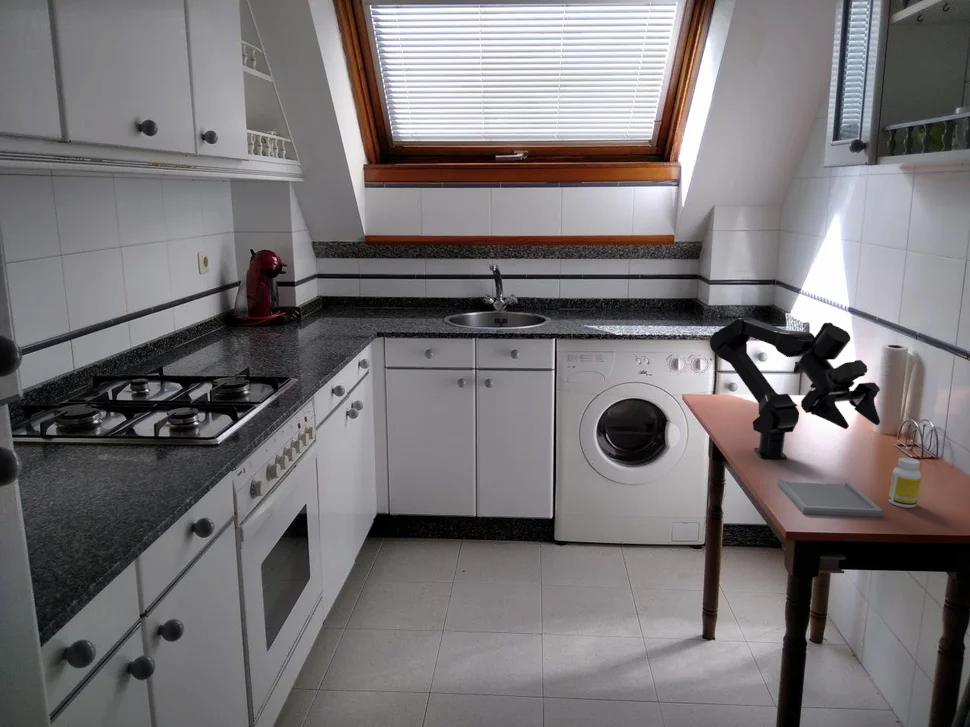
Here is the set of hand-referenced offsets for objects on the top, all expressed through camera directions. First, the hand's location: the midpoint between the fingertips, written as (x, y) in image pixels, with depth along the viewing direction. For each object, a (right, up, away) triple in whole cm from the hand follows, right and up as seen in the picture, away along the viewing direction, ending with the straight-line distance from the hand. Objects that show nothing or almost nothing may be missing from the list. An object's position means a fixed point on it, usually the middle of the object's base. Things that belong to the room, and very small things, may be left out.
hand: (863, 425), depth 173 cm
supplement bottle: (+7, -17, -2) cm, 18 cm away
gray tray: (-9, -16, -2) cm, 18 cm away
